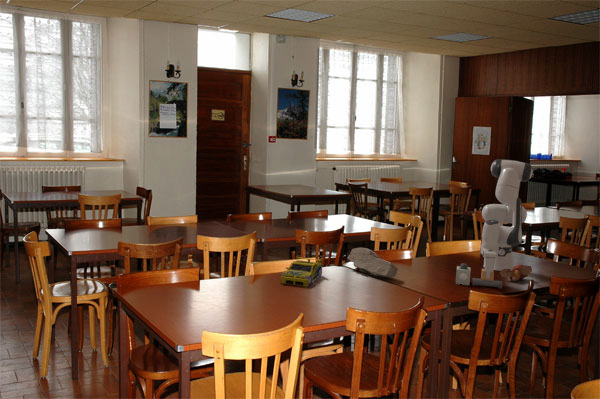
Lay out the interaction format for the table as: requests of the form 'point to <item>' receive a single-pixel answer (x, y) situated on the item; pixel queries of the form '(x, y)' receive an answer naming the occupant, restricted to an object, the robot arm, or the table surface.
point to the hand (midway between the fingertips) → (487, 276)
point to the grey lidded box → (463, 276)
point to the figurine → (516, 272)
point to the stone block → (372, 262)
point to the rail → (478, 282)
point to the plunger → (463, 266)
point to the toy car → (302, 272)
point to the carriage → (487, 280)
